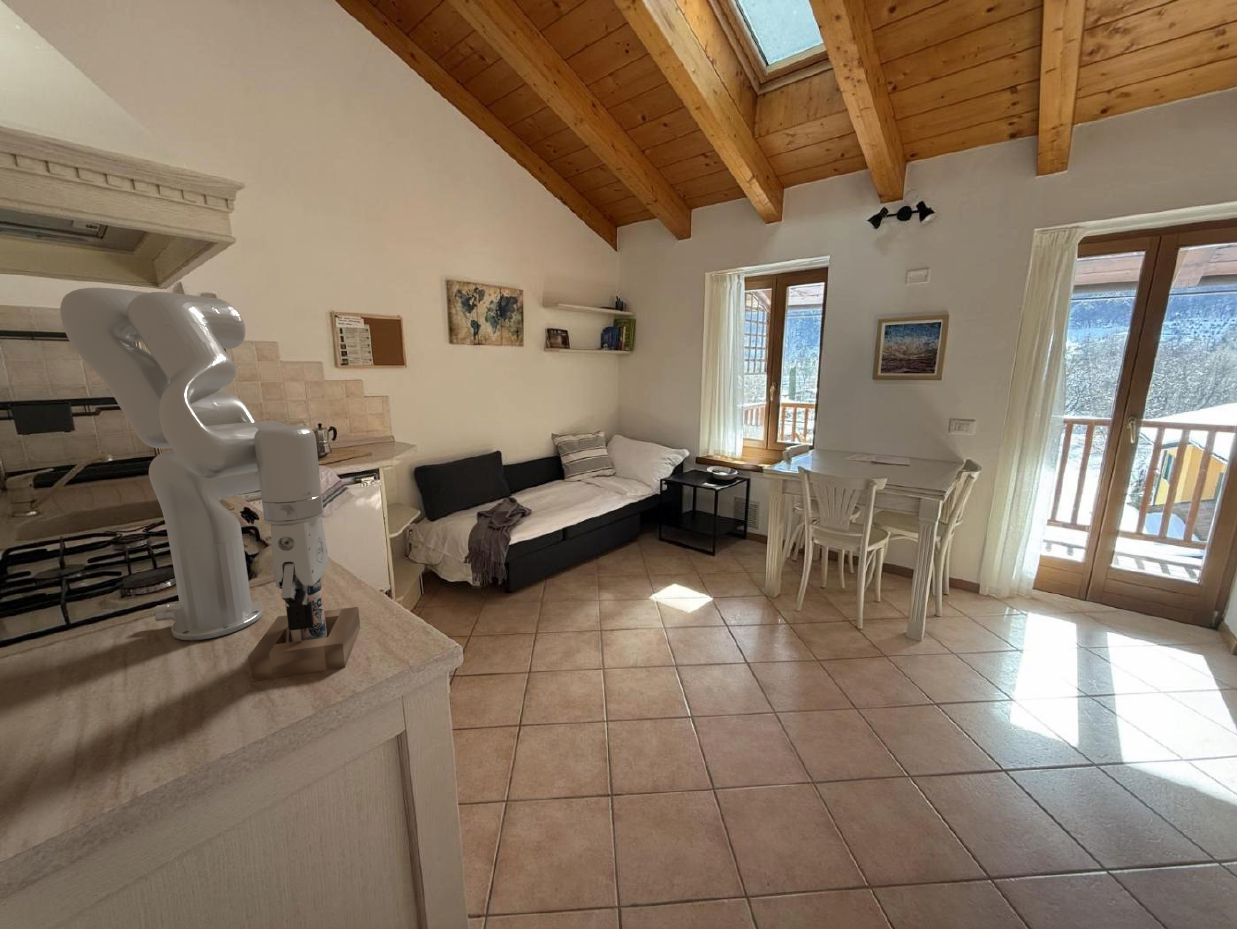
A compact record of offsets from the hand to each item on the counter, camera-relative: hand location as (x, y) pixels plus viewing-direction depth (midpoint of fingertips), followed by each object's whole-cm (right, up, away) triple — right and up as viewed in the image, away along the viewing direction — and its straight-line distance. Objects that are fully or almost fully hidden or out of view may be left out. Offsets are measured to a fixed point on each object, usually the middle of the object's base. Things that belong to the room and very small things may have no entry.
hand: (306, 618), depth 77 cm
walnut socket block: (0, -6, +1) cm, 6 cm away
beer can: (0, -5, +1) cm, 5 cm away
